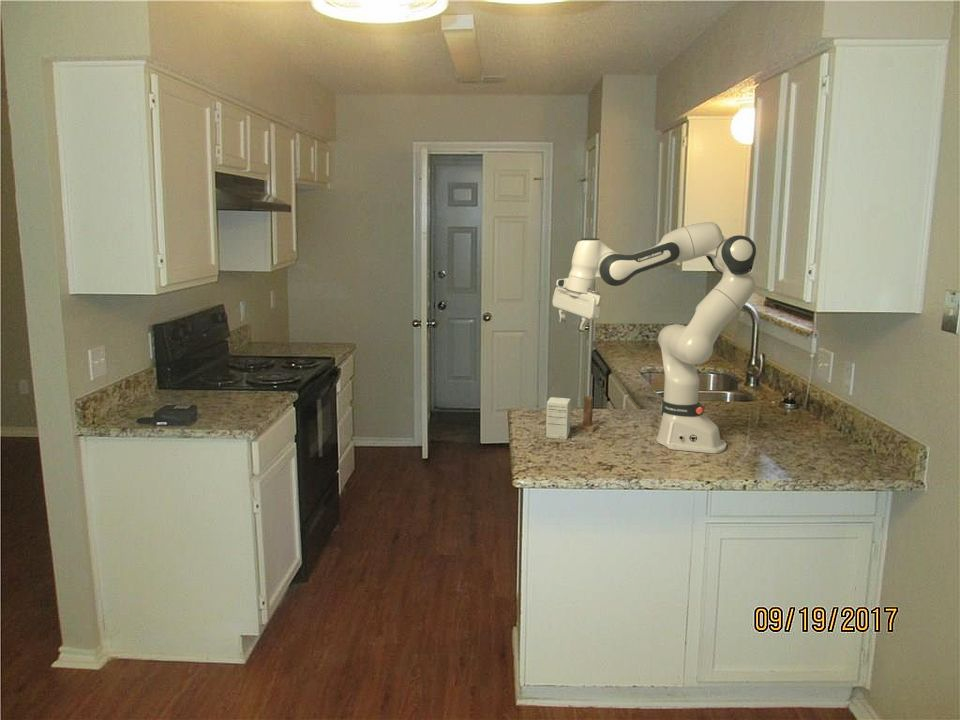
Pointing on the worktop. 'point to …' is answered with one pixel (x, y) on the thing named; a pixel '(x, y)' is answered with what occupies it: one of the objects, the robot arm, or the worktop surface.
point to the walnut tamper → (587, 416)
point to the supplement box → (558, 418)
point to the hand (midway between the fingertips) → (571, 326)
